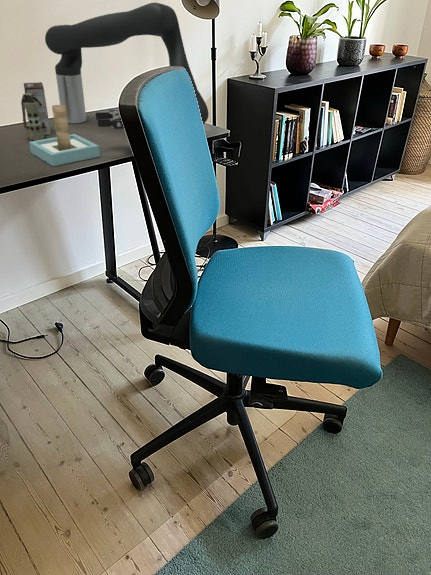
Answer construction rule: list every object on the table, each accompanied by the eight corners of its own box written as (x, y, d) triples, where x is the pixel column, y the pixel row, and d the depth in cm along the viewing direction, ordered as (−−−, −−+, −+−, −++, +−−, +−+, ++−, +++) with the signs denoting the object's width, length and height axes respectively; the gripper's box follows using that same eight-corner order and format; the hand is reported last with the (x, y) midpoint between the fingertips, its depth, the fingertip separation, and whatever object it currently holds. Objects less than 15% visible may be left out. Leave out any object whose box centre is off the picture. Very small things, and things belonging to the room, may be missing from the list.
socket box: (30, 152, 152) (28, 141, 150) (76, 144, 161) (74, 133, 159) (53, 166, 142) (51, 155, 140) (99, 156, 151) (98, 145, 149)
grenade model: (49, 136, 167) (42, 92, 159) (38, 142, 161) (30, 96, 153) (33, 134, 168) (26, 90, 160) (22, 139, 163) (13, 94, 154)
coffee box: (31, 128, 174) (22, 82, 165) (49, 127, 176) (41, 82, 167) (32, 135, 167) (24, 87, 158) (51, 134, 169) (44, 87, 160)
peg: (57, 154, 151) (49, 105, 143) (68, 151, 154) (61, 104, 145) (62, 157, 149) (55, 108, 141) (74, 155, 151) (67, 106, 143)
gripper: (143, 100, 156) (93, 102, 152) (150, 111, 145) (97, 112, 141) (144, 123, 160) (96, 125, 156) (151, 135, 149) (99, 138, 145)
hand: (96, 119), depth 148 cm, fingers open, 8 cm apart
